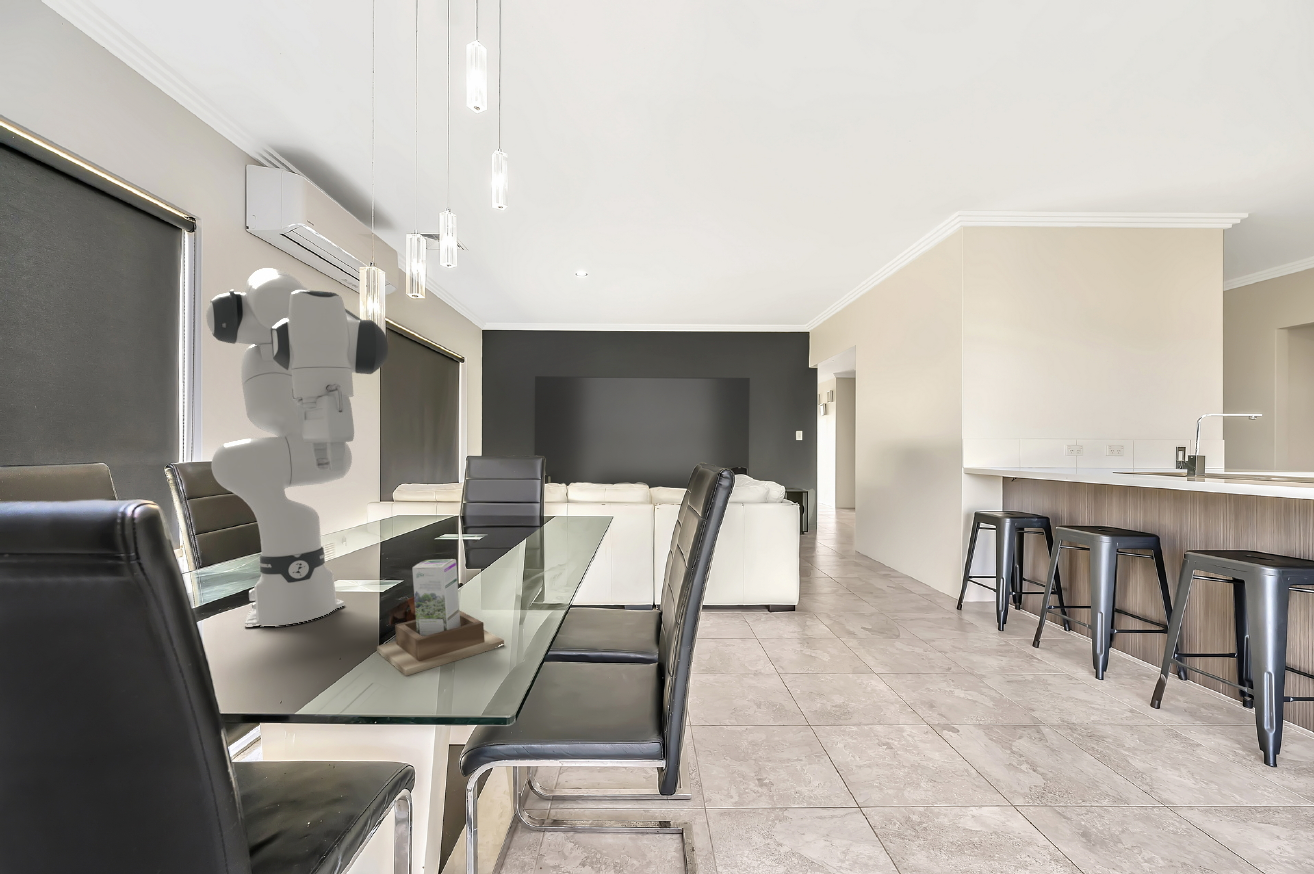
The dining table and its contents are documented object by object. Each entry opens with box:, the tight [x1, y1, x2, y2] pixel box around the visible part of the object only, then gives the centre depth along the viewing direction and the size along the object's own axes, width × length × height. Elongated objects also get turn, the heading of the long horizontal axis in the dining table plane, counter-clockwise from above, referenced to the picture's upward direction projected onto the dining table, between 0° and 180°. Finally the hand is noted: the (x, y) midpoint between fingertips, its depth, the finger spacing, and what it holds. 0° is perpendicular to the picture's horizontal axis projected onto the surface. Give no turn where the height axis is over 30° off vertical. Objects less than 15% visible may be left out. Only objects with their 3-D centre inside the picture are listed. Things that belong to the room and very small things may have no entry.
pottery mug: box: [387, 596, 416, 626], centre depth 119 cm, size 12×10×8 cm
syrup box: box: [411, 558, 460, 637], centre depth 108 cm, size 6×6×14 cm
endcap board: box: [376, 609, 505, 677], centre depth 108 cm, size 15×17×4 cm
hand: (329, 469), depth 103 cm, fingers open, 8 cm apart
